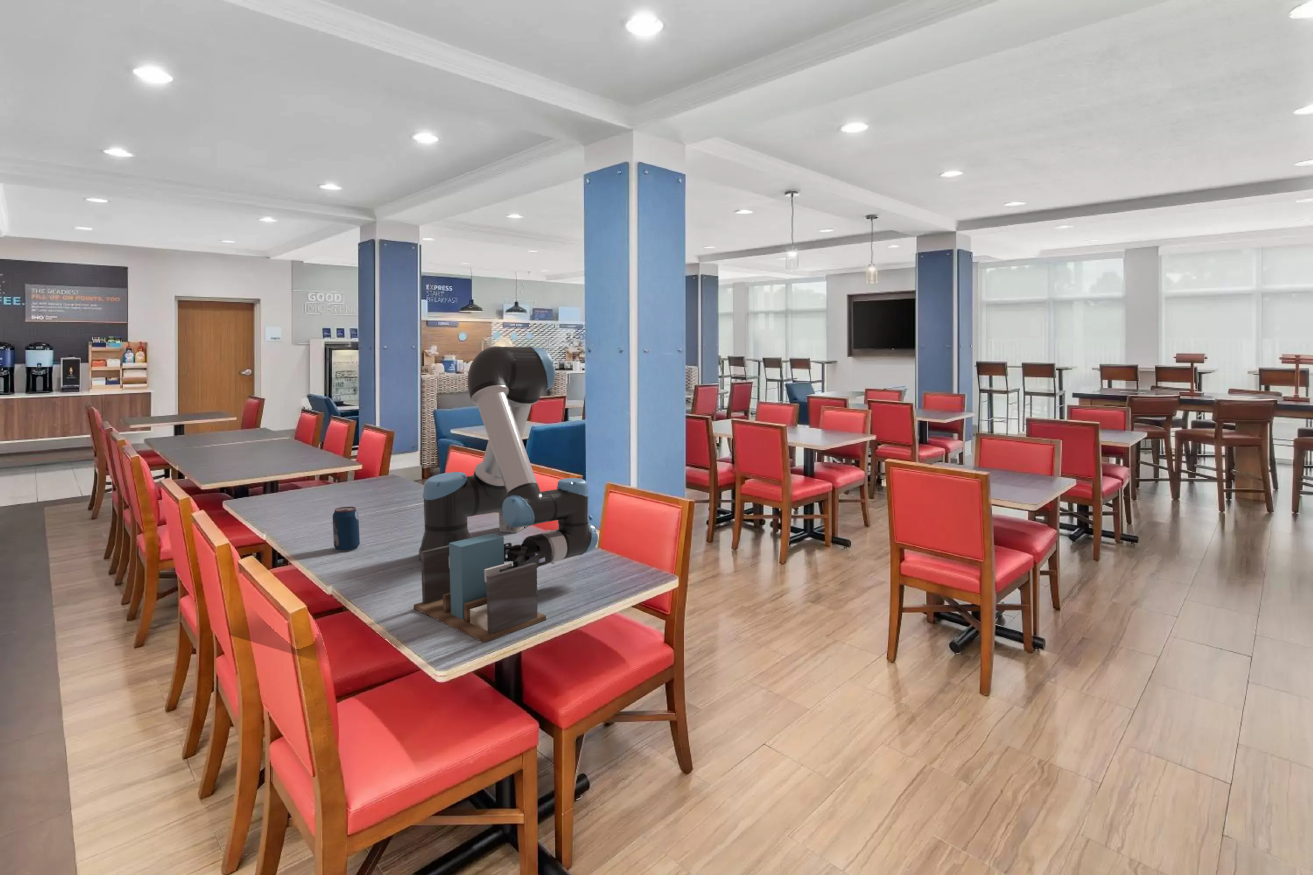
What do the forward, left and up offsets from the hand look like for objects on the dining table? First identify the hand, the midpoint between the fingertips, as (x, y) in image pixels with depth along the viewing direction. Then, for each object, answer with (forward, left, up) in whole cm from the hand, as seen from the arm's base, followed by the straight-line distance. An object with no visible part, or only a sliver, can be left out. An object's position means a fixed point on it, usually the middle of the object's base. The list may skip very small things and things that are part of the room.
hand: (466, 568), depth 149 cm
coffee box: (-38, +66, -11) cm, 77 cm away
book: (+1, +3, -10) cm, 10 cm away
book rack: (+1, +3, -11) cm, 11 cm away
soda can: (-67, +25, -11) cm, 73 cm away
